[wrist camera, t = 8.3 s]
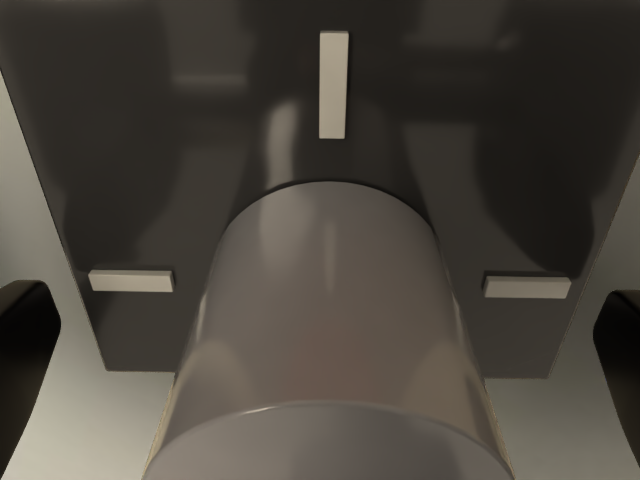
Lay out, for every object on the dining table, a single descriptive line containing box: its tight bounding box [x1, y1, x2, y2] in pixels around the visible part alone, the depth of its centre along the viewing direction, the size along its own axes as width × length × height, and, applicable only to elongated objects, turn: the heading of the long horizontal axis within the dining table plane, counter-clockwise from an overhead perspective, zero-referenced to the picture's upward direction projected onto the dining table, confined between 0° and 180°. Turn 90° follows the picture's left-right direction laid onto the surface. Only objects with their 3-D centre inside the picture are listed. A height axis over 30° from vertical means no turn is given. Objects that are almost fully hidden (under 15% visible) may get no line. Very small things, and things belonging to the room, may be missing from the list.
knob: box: [141, 181, 516, 480], centre depth 7 cm, size 4×4×4 cm
